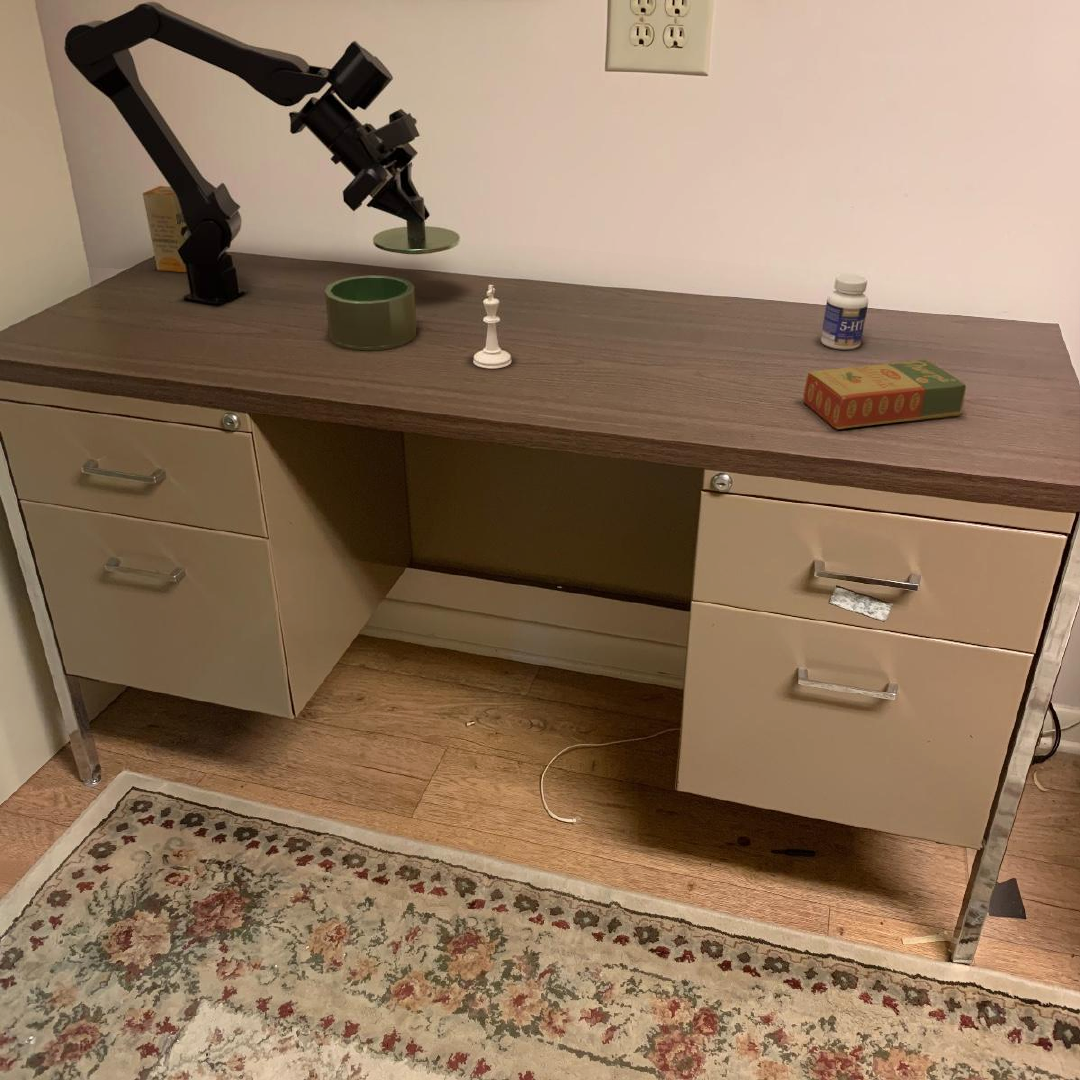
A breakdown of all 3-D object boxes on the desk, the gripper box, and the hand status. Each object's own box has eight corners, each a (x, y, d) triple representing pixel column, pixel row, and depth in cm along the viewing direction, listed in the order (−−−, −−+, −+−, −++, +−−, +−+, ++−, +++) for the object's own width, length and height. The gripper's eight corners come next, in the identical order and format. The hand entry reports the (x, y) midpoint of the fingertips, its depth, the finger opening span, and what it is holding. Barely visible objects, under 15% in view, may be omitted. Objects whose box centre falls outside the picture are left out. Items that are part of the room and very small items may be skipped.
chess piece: (516, 357, 134) (516, 281, 128) (503, 370, 130) (502, 293, 124) (481, 352, 135) (479, 277, 130) (467, 365, 131) (464, 289, 126)
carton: (801, 403, 122) (806, 369, 120) (920, 389, 125) (927, 356, 123) (836, 432, 115) (842, 396, 113) (961, 416, 119) (969, 382, 116)
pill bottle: (838, 353, 135) (849, 287, 131) (812, 340, 139) (822, 275, 135) (869, 346, 137) (881, 281, 133) (842, 334, 141) (853, 270, 137)
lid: (366, 257, 143) (362, 208, 139) (381, 233, 153) (377, 187, 150) (455, 259, 143) (453, 209, 139) (463, 234, 153) (462, 188, 150)
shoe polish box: (201, 263, 168) (188, 187, 162) (185, 272, 164) (171, 195, 158) (173, 261, 169) (159, 186, 163) (157, 270, 165) (142, 193, 159)
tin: (313, 342, 138) (307, 295, 134) (359, 316, 147) (355, 271, 143) (388, 356, 134) (384, 307, 130) (431, 327, 143) (428, 281, 139)
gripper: (358, 103, 130) (446, 197, 134) (399, 82, 146) (477, 166, 150) (306, 165, 135) (392, 253, 140) (351, 138, 151) (427, 218, 155)
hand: (424, 220), depth 146 cm, fingers closed on lid, 2 cm apart
